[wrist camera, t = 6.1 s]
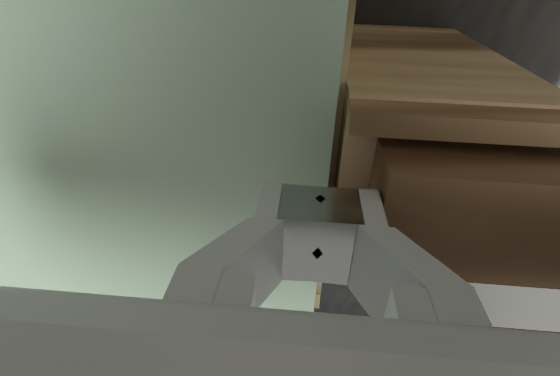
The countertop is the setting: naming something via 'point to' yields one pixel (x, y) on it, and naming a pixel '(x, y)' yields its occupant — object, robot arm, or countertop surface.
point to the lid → (155, 132)
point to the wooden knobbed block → (476, 206)
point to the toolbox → (431, 97)
